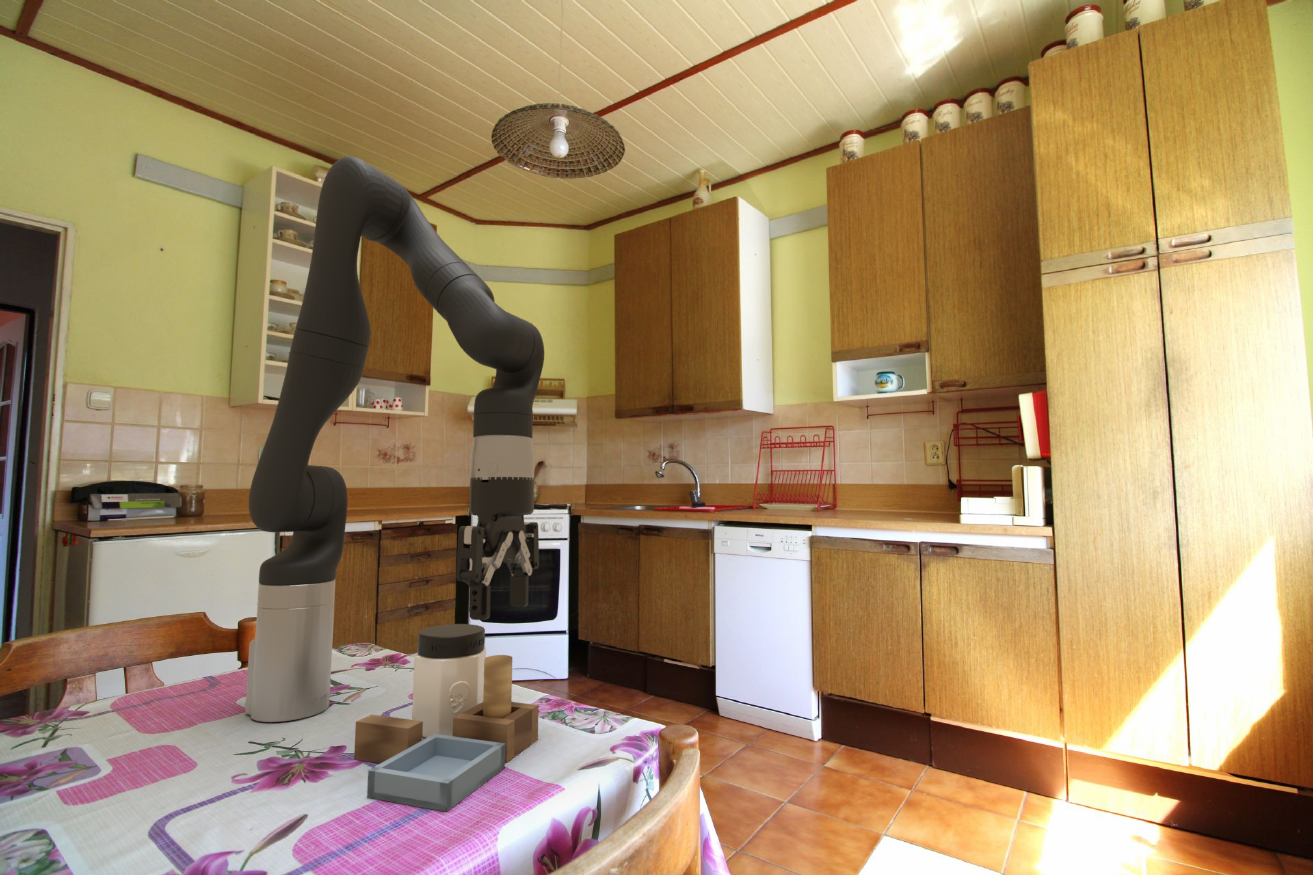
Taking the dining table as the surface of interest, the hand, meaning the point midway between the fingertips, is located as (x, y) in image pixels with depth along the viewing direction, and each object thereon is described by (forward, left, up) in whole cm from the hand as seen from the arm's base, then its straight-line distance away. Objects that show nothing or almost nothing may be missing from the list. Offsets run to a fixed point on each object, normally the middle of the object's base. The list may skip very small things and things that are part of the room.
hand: (500, 612), depth 75 cm
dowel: (0, 0, -15) cm, 15 cm away
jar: (-9, +4, -15) cm, 18 cm away
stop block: (-10, -7, -15) cm, 19 cm away
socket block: (0, 0, -15) cm, 15 cm away
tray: (-1, -10, -15) cm, 18 cm away
